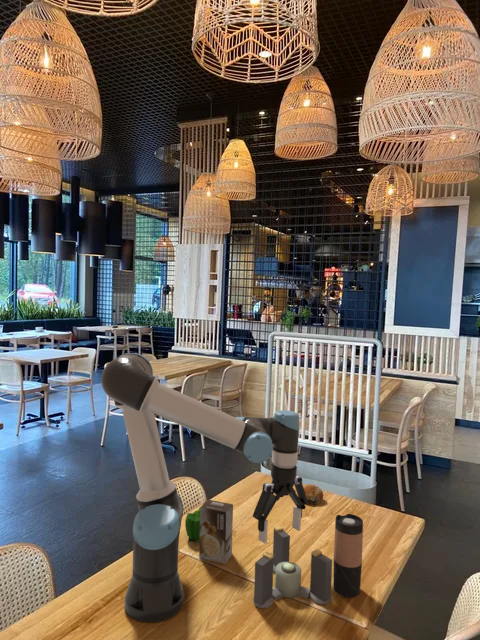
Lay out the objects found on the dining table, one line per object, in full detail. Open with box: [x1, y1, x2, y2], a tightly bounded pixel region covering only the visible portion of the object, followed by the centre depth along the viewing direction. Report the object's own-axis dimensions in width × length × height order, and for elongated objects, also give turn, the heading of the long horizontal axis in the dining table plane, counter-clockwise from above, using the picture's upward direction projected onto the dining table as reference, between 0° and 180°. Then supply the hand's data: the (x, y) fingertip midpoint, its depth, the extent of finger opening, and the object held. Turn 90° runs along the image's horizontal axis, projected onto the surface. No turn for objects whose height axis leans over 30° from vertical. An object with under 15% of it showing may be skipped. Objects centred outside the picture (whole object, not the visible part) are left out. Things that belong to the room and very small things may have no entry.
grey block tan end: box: [272, 525, 291, 575], centre depth 131 cm, size 5×5×12 cm
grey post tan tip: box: [309, 548, 333, 606], centre depth 119 cm, size 5×5×12 cm
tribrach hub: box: [272, 561, 311, 601], centre depth 123 cm, size 12×11×7 cm
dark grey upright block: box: [252, 551, 274, 609], centre depth 117 cm, size 5×5×12 cm
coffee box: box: [198, 499, 234, 565], centre depth 138 cm, size 9×6×16 cm
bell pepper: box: [185, 507, 200, 542], centre depth 149 cm, size 8×8×10 cm
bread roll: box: [303, 483, 324, 505], centre depth 182 cm, size 10×10×8 cm
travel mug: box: [333, 513, 364, 599], centre depth 123 cm, size 8×8×20 cm
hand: (279, 535), depth 131 cm, fingers open, 13 cm apart
